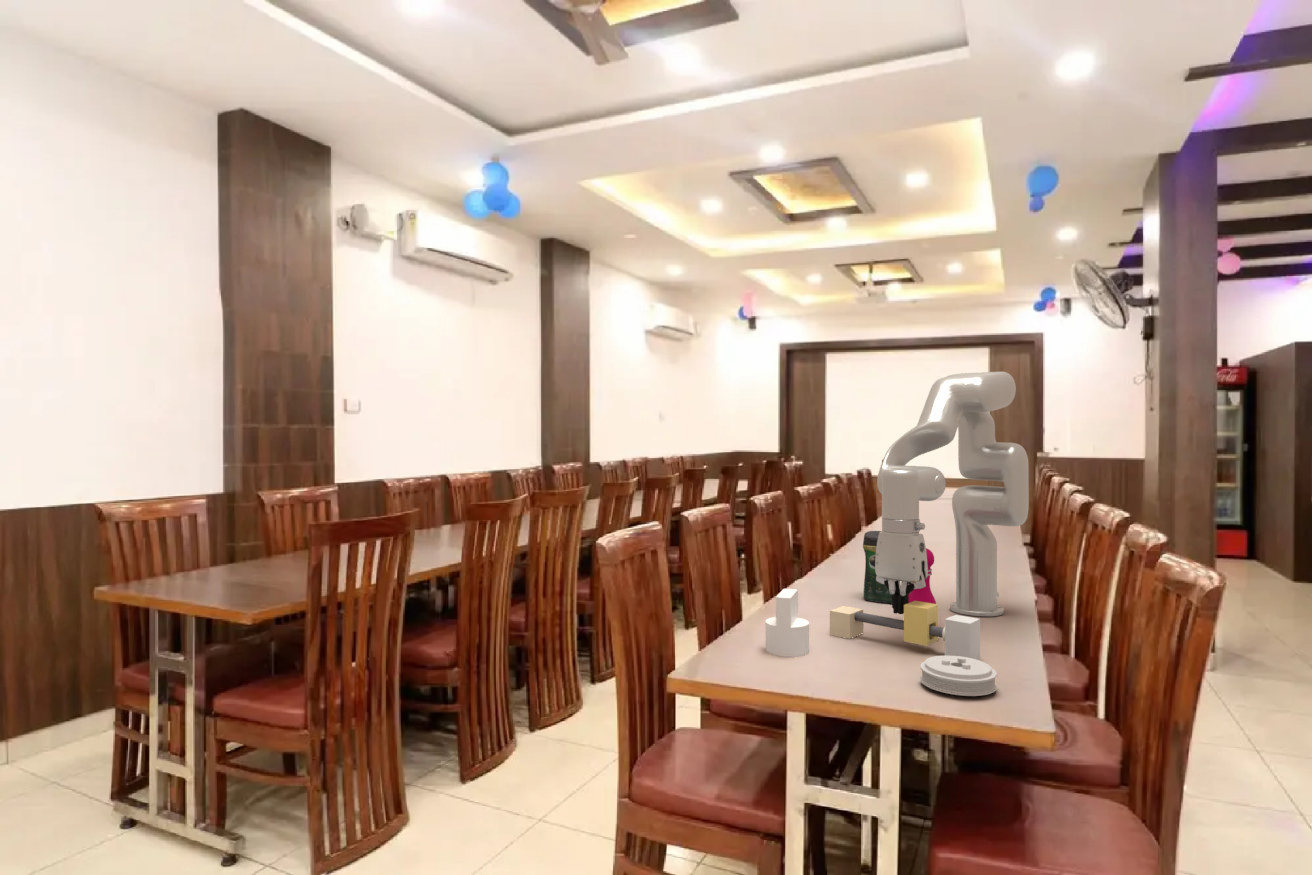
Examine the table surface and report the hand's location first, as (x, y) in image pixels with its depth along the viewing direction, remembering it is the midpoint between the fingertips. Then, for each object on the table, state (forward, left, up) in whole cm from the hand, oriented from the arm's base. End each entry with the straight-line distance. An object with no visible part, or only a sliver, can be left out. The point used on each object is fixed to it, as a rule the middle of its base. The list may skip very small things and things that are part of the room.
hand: (900, 612), depth 161 cm
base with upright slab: (+19, -16, -7) cm, 26 cm away
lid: (+17, +19, -8) cm, 27 cm away
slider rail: (0, 0, -7) cm, 7 cm away
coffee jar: (-36, -23, -7) cm, 43 cm away
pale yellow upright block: (0, +5, -5) cm, 7 cm away
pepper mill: (-18, -4, -7) cm, 20 cm away
